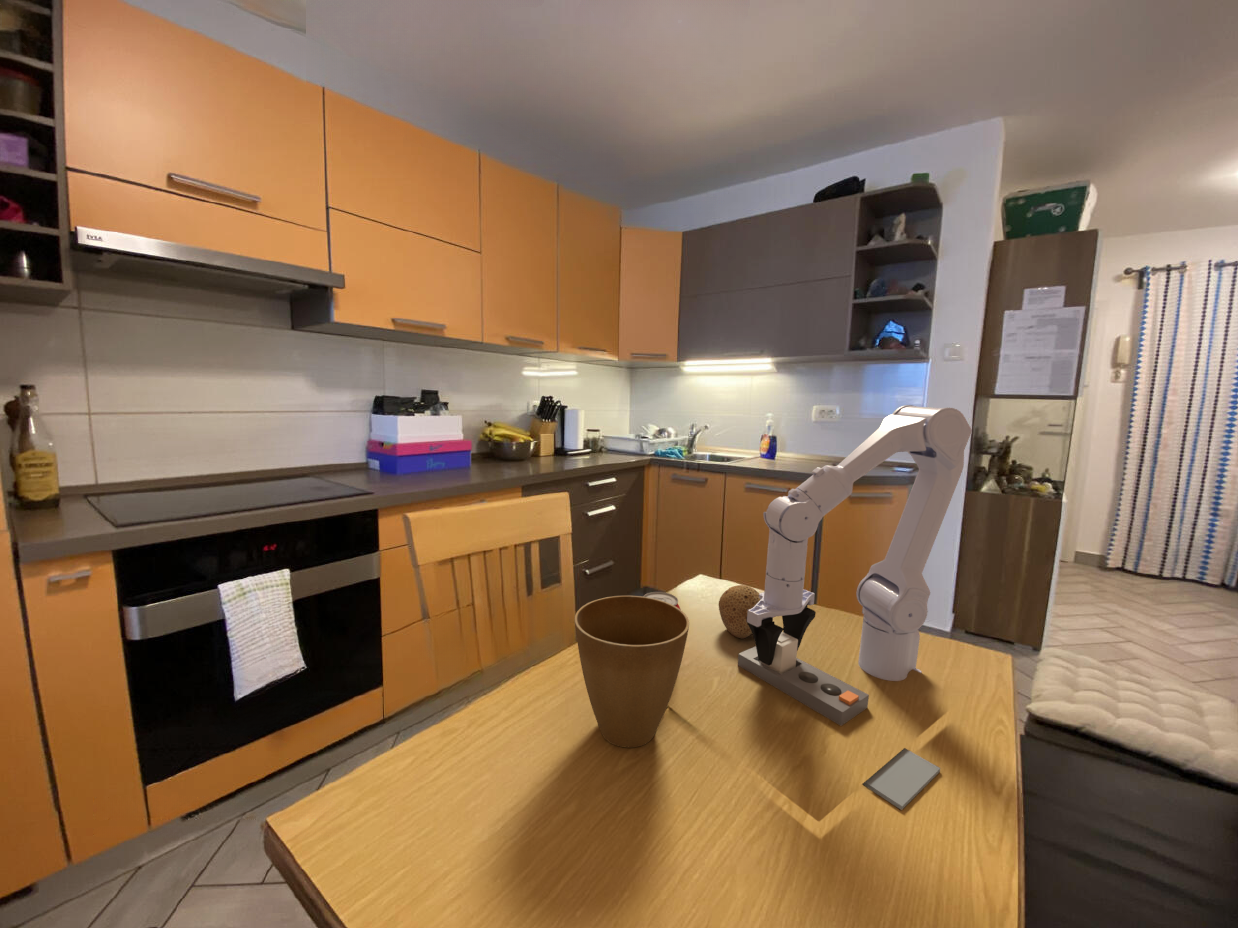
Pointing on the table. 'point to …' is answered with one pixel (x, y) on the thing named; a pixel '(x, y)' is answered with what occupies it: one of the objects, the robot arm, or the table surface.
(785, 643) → the block
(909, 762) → the mat
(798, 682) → the power strip
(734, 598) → the natural sponge
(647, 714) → the plant pot
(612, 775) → the table surface
